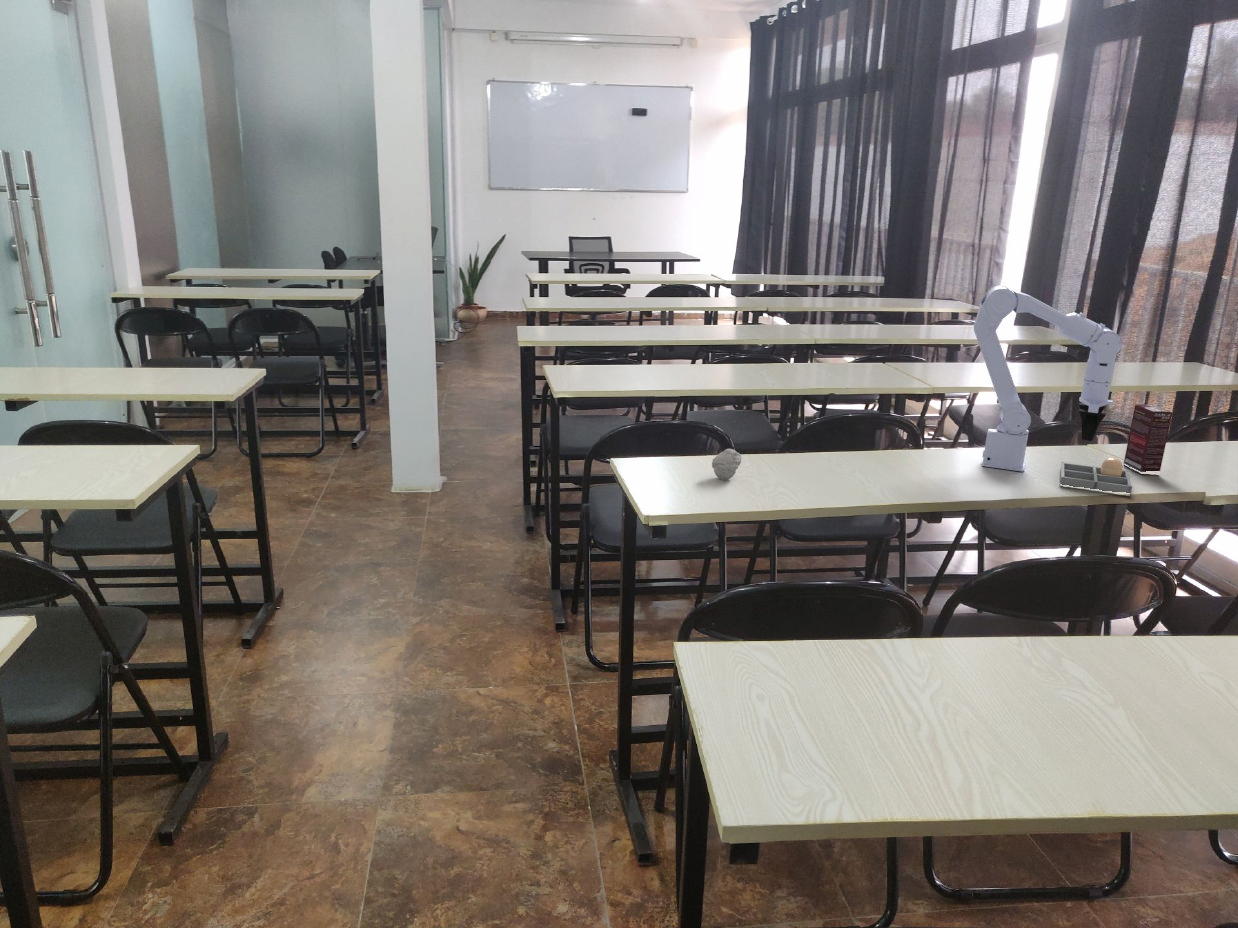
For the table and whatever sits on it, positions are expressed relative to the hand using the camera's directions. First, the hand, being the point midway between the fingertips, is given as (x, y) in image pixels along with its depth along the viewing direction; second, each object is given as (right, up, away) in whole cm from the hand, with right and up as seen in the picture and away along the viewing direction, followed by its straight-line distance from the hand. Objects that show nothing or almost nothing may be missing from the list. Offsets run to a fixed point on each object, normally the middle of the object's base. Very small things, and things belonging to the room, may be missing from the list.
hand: (1086, 436), depth 213 cm
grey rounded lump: (-88, -10, -10) cm, 89 cm away
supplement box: (+17, -8, +7) cm, 20 cm away
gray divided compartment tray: (-1, -11, -5) cm, 12 cm away
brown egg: (+4, -10, -3) cm, 11 cm away
